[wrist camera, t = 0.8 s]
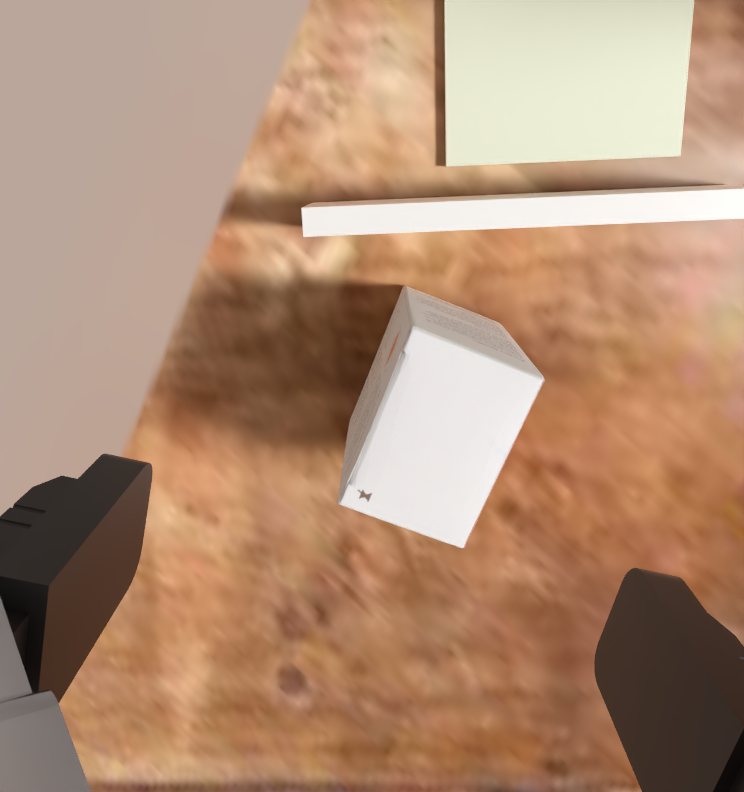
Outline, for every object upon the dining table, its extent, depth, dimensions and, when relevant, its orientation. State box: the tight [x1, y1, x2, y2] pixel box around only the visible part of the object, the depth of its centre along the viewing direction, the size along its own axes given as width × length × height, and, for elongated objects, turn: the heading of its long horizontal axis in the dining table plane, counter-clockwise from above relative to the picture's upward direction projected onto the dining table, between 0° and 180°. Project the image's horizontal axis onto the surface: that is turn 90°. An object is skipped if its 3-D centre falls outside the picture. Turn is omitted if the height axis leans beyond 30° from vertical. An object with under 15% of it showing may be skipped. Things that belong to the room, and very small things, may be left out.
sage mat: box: [444, 0, 694, 166], centre depth 31 cm, size 11×13×1 cm
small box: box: [338, 286, 545, 548], centre depth 32 cm, size 8×6×10 cm
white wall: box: [301, 185, 744, 237], centre depth 32 cm, size 20×1×5 cm, turn 92°
